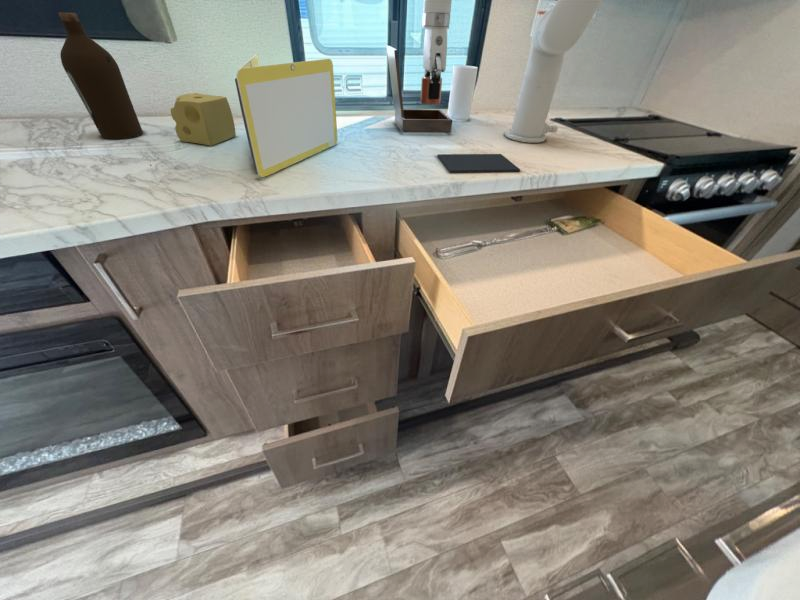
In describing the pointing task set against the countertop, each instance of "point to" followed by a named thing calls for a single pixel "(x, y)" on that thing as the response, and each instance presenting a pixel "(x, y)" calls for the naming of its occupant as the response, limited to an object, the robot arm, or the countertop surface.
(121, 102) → the olive oil
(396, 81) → the lid
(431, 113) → the brown wooden box
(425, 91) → the orange cup
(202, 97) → the cheese
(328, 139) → the tablet
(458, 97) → the white cylinder
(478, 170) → the mat
